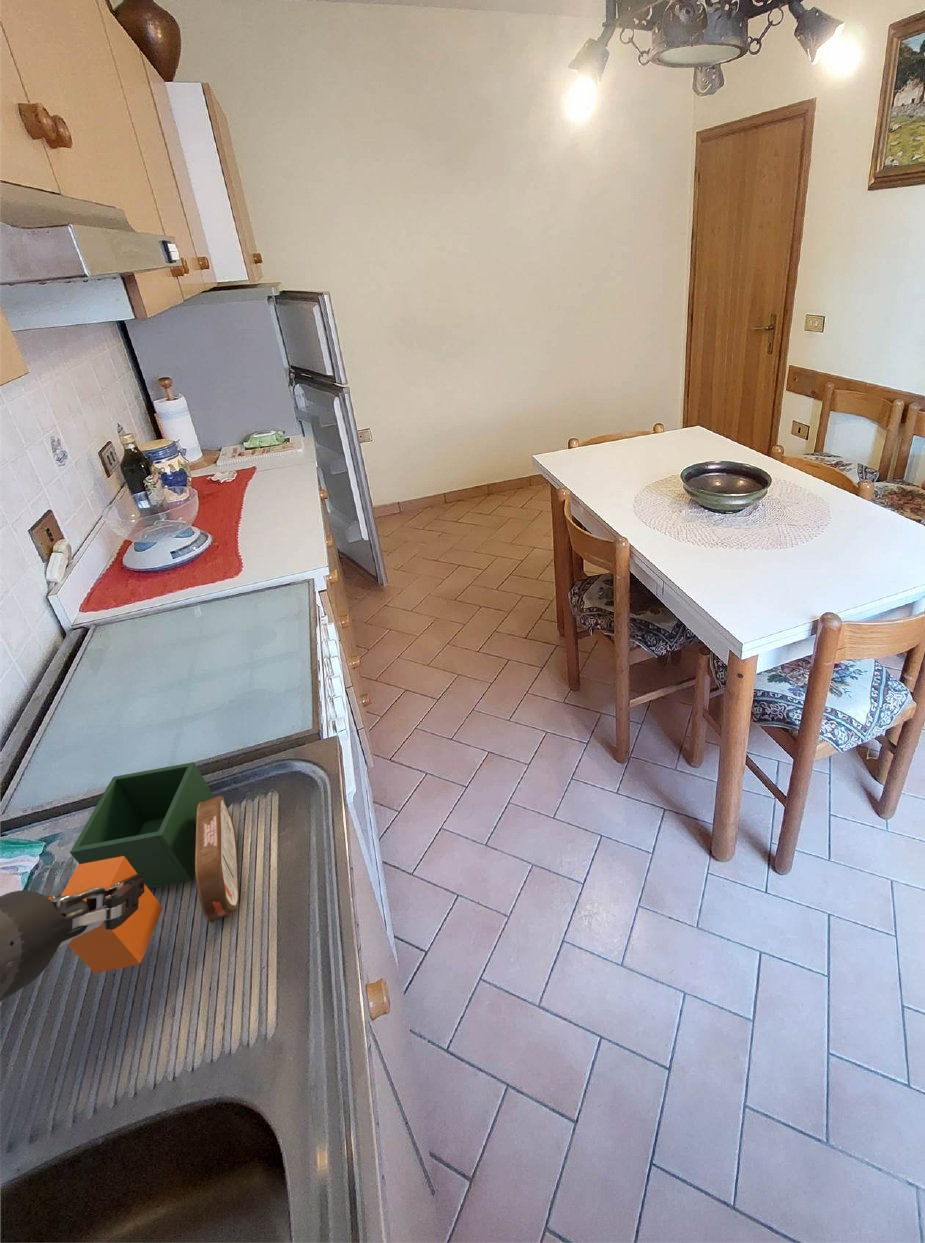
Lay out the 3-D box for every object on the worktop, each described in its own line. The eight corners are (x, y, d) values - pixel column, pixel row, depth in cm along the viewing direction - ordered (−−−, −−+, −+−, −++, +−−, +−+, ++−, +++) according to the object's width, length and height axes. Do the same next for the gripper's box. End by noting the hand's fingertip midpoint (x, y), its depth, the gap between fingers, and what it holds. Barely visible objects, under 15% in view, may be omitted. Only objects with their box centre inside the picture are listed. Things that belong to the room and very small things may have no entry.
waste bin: (106, 897, 72) (69, 852, 68) (144, 820, 81) (113, 776, 77) (192, 880, 73) (161, 835, 69) (219, 806, 82) (194, 761, 77)
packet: (94, 973, 60) (46, 922, 55) (120, 916, 65) (78, 864, 60) (140, 964, 61) (96, 912, 56) (162, 908, 65) (124, 855, 60)
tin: (215, 830, 79) (191, 790, 75) (240, 818, 80) (218, 779, 76) (216, 939, 67) (187, 899, 63) (245, 924, 68) (219, 883, 64)
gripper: (67, 890, 47) (185, 836, 63) (-127, 928, 45) (44, 863, 62) (61, 1000, 45) (184, 915, 61) (-143, 1043, 43) (39, 944, 60)
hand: (113, 889), depth 61 cm, fingers closed on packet, 4 cm apart
